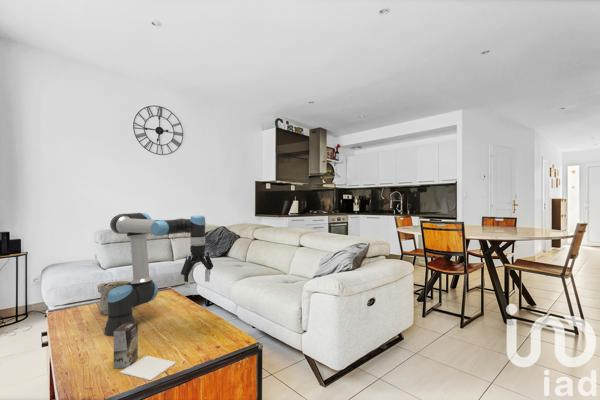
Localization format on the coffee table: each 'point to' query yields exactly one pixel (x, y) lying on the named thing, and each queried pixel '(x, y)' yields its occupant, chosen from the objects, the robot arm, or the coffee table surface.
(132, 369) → the mat
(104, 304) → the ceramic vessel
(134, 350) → the coffee box
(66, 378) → the coffee table surface
